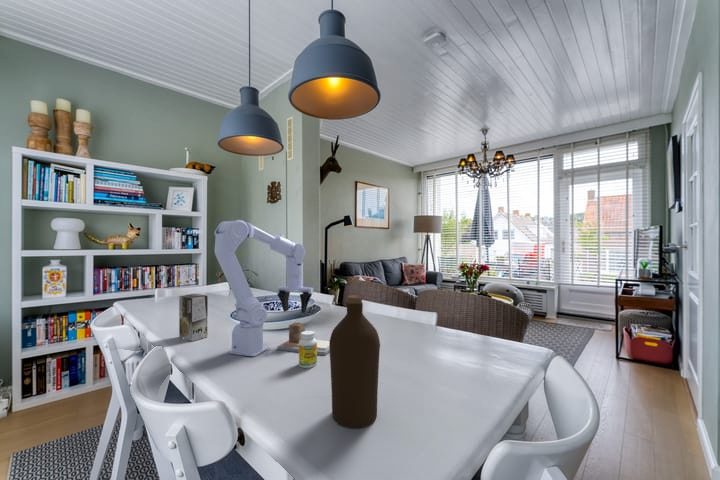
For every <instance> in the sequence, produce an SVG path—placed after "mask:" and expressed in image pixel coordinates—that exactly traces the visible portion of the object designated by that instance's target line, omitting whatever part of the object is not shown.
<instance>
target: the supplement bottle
mask: <svg viewBox="0 0 720 480" xmlns="http://www.w3.org/2000/svg"><path fill="white" fill-rule="evenodd" d="M315 333H316V332H315V331H314V330H305V331H304V332H302V333H301V338H302V339H301V340H300V341H299V352H298V365H299V366H298V367H300V368H303V369H310V368H311V369H312V368H314V367H315V366H316V365H317V364H318V354H317V340H318V339H316V338H315V336H316V334H315Z"/></svg>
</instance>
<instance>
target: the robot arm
mask: <svg viewBox="0 0 720 480" xmlns="http://www.w3.org/2000/svg"><path fill="white" fill-rule="evenodd" d="M213 234H214V236H215V242H214V255H215V257H216V259H217V261H218V264H219V266H220V268H221V270H222V273H223V275H224V277H225V280H226V281H227V283H228V286H229V287H230V290H231V292H232V295H234V299H235V301H236V302H235V304H234V306H235V309H236V313H235V314H236V317H237V319H238V321H239V323H238V324H235V326H234V327H233V329H232V331H231V351H230V352H229V353H230V354H232V355H239V356H247V357H256V356H258V355H260V354H261V353H263V352H265V351H267V350H268V349H269V347H268V346H264V343H263V342H264V323H265V322H266V320H267V318H268V312H267V309H266V308H265V307H264V306H263V305H262V304H261V302H260V301H259V299H258V298H256V297H255V296H254V294H253V292H252V289H251V287H250V285H249V283H248V281H247V278H246V276H245V274H244V271H243V269H242V267H241V264H240V262H239V260H238V258H237V255H236V253H235V252H236V251H237V249H238V247H239V246H240V245H241V243H242V242H244V240H246V238H251V239H253V240H256V241H258V242H261V243H263V244H266V245H269V249H270V250H271V251H274V252H276V253H278V254H281V255H283V256H284V258H286V273H287V274H286V285H278V286H276V293H277V292H278V293H277V297H278V299H279V300H280V303H281V306H282V309H283V312H288V311H289V299H290V295H291V293H299V296H300V297H299V298H300V304H301V306H300V308H301V310H300V311H301V314H305V313H306V312H307V308H308V304H309V301H310V299H311V297H312V295H313V293H314V287H309V286H303V276H304V275H303V271H304V270H303V263H304V258H305V257H306V254H307V251H306V249H305V247H304V245H303V244H301V243H295V241H294V240H293V239H292V240H289V239H287V238H286V237H285V235H283V234H276V235H272V234H269V233H268V232H266V231H264V230H262V229H260V228H258V227H256V226H255V225H253V224H252V223H249V222H246V221H244V220H242V219H236V220H230V221H229V220H224V221H222V222H220V223H219V224H218V225H217V227H216V229H215V231H214V233H213Z"/></svg>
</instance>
